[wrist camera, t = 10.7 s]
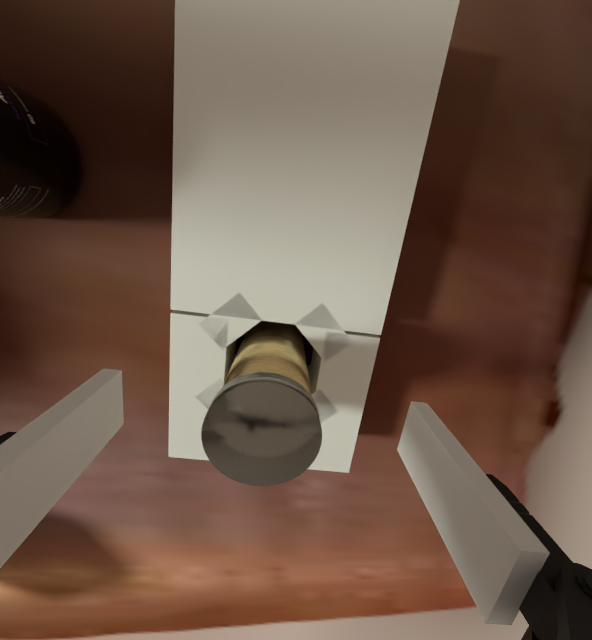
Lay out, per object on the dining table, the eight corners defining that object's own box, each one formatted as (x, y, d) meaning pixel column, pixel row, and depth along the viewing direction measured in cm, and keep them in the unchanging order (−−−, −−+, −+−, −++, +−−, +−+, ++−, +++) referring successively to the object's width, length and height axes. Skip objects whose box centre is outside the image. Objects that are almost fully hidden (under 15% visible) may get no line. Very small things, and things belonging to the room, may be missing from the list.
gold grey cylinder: (237, 370, 22) (198, 480, 12) (243, 309, 20) (204, 378, 11) (301, 377, 22) (312, 490, 12) (310, 317, 21) (331, 391, 11)
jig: (188, 418, 23) (168, 456, 19) (203, 4, 15) (176, -71, 12) (338, 433, 23) (348, 472, 20) (420, 46, 16) (462, -11, 12)
